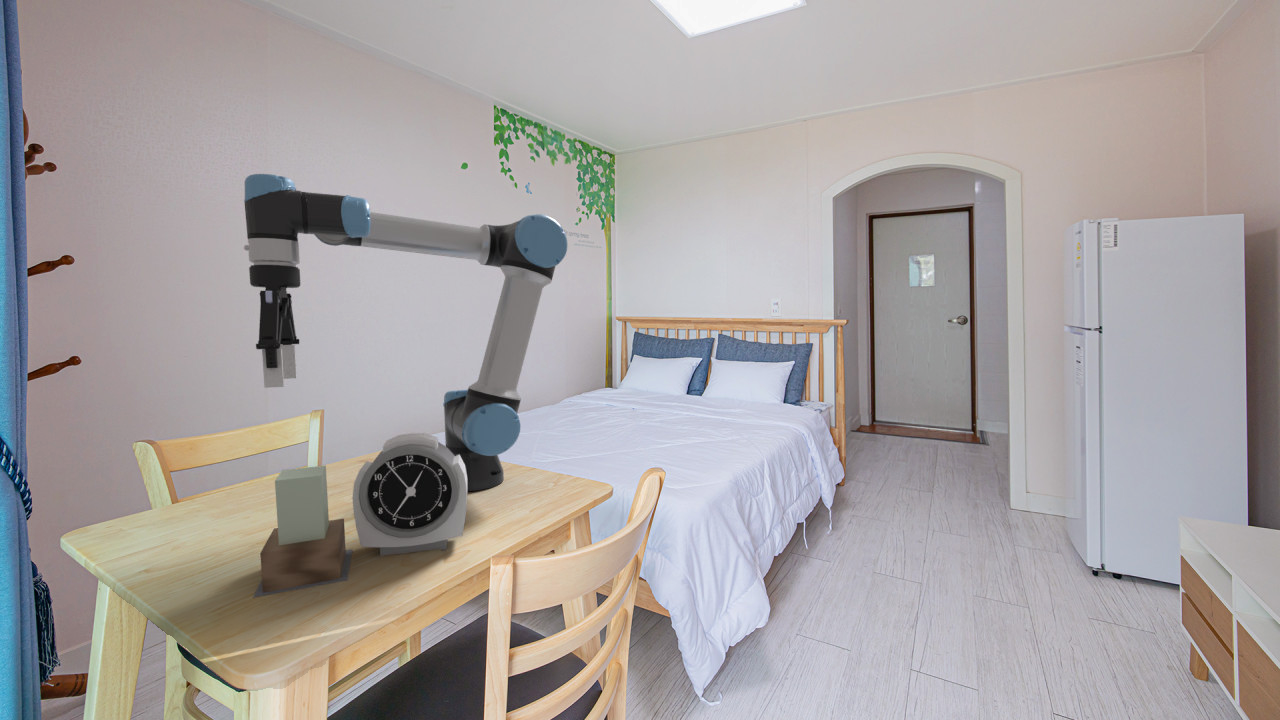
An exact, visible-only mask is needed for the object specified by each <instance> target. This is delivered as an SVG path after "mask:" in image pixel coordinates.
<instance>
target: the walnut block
mask: <svg viewBox="0 0 1280 720" xmlns="http://www.w3.org/2000/svg"><path fill="white" fill-rule="evenodd" d="M345 531H346V530H345V518H338V519H331V520H330V519H329V526H328V530H327V533H326V536H325V538H324V539H317V540H311V541H304V542H298V543H291V544H285V545H279V538H278V527H275V528H273V529H272V531H271V533H270V535H269V537H268V538H267V541H266V542H265V544H264V545H263V547H262V549H261V550H260V572H261V580H262V587H263V593H264V592H269V591H274V590H280V589H285V588H291V587H296V586H302V585H307V584H313V583H318V582H323V581H329V580H334V579H340V578H341V574H342V569H343V564H344V559H345V553H346V550H347V549H346V534H345V533H346V532H345Z"/></svg>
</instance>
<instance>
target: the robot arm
mask: <svg viewBox="0 0 1280 720" xmlns="http://www.w3.org/2000/svg"><path fill="white" fill-rule="evenodd" d="M243 200H244V211H245V212H244V213H245V224H246V236H247V243H248V244H245V245H244V247H243V250H245V251H247V252H248V261H249V262H250V263H252V264H251V265H250V266H249V267H248V270H249V271H248V272H249V283H250V284H249V285H250V286H251V287H254V288H264V290H260V292H259V298H260V301H259V302H260V306H259V307H260V309H259V329H258V332H259V333H258V341H257V343H255V348H256V350H261V352H262V353H261V354H262V367H263V369H262V370H263V371H262V372H263V383H264V385H263V387H264V388H265V389H266V388H283V387H285V380H286V379H298V373H297V358H296V357H297V355H296V345H300V339H299V338H298V337H297V333H296V327H295V321H294V313H293V307H292V306H293V305H292V303H293V301H292V295H291V293H288V292H287V289H296V288H299V287H300V286H301V270H300V268H299V267H297V266H296V265H299V264H300V247H299V237H298V235H299V234H303V235H314V236H315V237H316V239H318V240H319V241H320V242H321V243H323V244H325V245H329V246H334V247H336V246H343V245H344V246H350V247H351V246H352V247H363V248H370V249H371V248H372V249H379V250H380V249H381V250H389V251H399V252H407V253H414V254H424V255H432V256H441V257H449V258H457V259H463V260H464V259H466V260H474V261H477V262H478V263H479V265H482V266H488V267H494V268H495V267H496V268H500V271H501V272H502V274H503V275H504V279H503V280H504V281H503V284H502V288H501V292H500V296H499V299H498V304H497V307H496V311H495V315H494V318H493V323H492V326H491V330H490V333H489V337H488V340H487V344H486V349H485V352H484V355H483V360H482V364H481V367H480V371H479V374H478V377H477V378H478V379H477V380H476V381H475V382H474V383H472V384H471V385H469V386H468V388H467V389H459V390H458V389H457V390H448V391H446V393H445V394H444V397H443V404H442V406H443V409H444V410H443V411H444V412H443V413H444V416H443V417H444V433H445V434H444V437H445V438H444V440H445V446H446V447H447V448H448V449H449V450H450V451H451V452H452V453H453V454H454V456H457V455H459V454H460V456H461V458H462V460H463V462H464V464H465V467H466V473H467V492H474V491H481V490H486V489H490V488H492V487H495V486H498V485H500V484H501V483H503V481H504V480H505V479H504V476H505V475H504V473H505V472H504V468H503V466H502V463H501V459H500V456H499V455H501V454H503V453H505V452H507V451H508V450H510V449H511V448H512V447H513V446H514V445H515V443H516V442H517V440H518V438H519V436H520V433H521V421H520V418H519V415H518V411H519V408H520V404H521V400H522V398H521V396H520V394H519V393H518V390H517V389H518V385H519V381H520V376H521V373H522V368H523V366H524V361H525V358H526V354H527V350H528V346H529V342H530V339H531V334H532V331H533V327H534V323H535V320H536V316H537V311H538V308H539V304H540V299H541V297H542V294H543V293H542V292H543V289H544V287H547V285H550V284H551V283H552V281H553V277H554V274H555V269H556V266H558V265H559V264H560V263H561V262H562V261H563V260H564V258H565V257H566V256H567V255H566V254H567V252H568V238H567V234H566V232H565V231H564V228H563V227H562V226H561V224H560V223H559V222H558V221H557V220H556V219H554V218H552V216H551V217H550V216H548V215H546V214H541V213H539V214H530V215H525V216H524V217H522V218H521V219H520V220H517V221H514V222H512V223H508V224H503V225H501V224H500V225H491V224H482V225H481V226H480V227H477V226H475V227H474V226H469V225H468V226H467V225H464V224H463V225H462V224H455V223H447V222H441V221H436V220H427V219H422V218H421V219H419V218H414V217H407V216H400V215H392V214H387V213H379V212H373V211H370V210H371V209H370V203H369V201H368V200H367V199H366V198H362V197H356V196H351V195H349V194H347V195H342V194H340V195H339V194H331V193H330V194H327V193H319V192H306V191H301V190H298V189H297V188H296V184H295V182H294V181H293V180H292V179H290V178H288V177H286V176H280V175H276V174H269V173H268V174H267V173H253V174H249V175H248V176H247V177H246V178H245V179H244V199H243Z"/></svg>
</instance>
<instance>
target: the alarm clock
mask: <svg viewBox="0 0 1280 720" xmlns="http://www.w3.org/2000/svg"><path fill="white" fill-rule="evenodd" d="M351 497H352V508H353V509H352V510H353V517H354V523H355V528H356V533H357V537H358V541H359V544H360V548H362V547H363V548H379V553H380V554H379V555H380V557H382V556H390V555H398V554H407V553H415V552H423V551H432V550H437V549H438V550H441V551H446V550H447V546H448V541H449V540H450V539H454V538H458V537H461V536H463V533H464V527H465V521H466V514H467V501H468V491H467V473H466V467H465V464H464V462H463V460H462V458H461V456H460V454H459V455H457V456H454V454H453V453H452V452H451V451H450V450H449V449H448V448H447V447H446V445H444V444H442V443H441V442H440V441H439V439H438V437H437V436H434V435H432V434H428V433H424V432H423V433H421V432H420V433H416V432H415V433H412V432H411V433H406V434H398V435H396V436H393V437H392V438H389V439H387V440H386V441H385V443H384V444H383V446H382V450H381V451H380V452H379V454H378V455H377V456H376V457H375V459H374V460H373V462H372V461H368V460H367V461H365V463H364V464H363V465H362V466H361V468H360V469H359V471H358V473H357V475H356V478H355V480H354V482H353V489H352V496H351Z"/></svg>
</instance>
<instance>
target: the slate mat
mask: <svg viewBox="0 0 1280 720" xmlns="http://www.w3.org/2000/svg"><path fill="white" fill-rule="evenodd" d="M352 555H353V548H350V549H346V553H345V559H344V564H343V569H342V574H341V578H340V579H334V580H329V581H323V582H318V583H313V584H307V585H302V586H296V587H291V588H285V589H280V590H274V591H269V592H264V593H263V587H262V579H261V581H260V582H259V584H258V587H257V589H256V591H255V592H254V595H253V597H252V598H253V599H254V598H259V597H263V596H265V597H266V596H268V595H274V594H275V595H276V594H279V593H285V592H286V593H287V592H291V591H296V590H303V589H307V588H312V587H319V586H323V585H328V584H335V583H340V582H345V581H348V579H349V572H350V567H351V561H352Z"/></svg>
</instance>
